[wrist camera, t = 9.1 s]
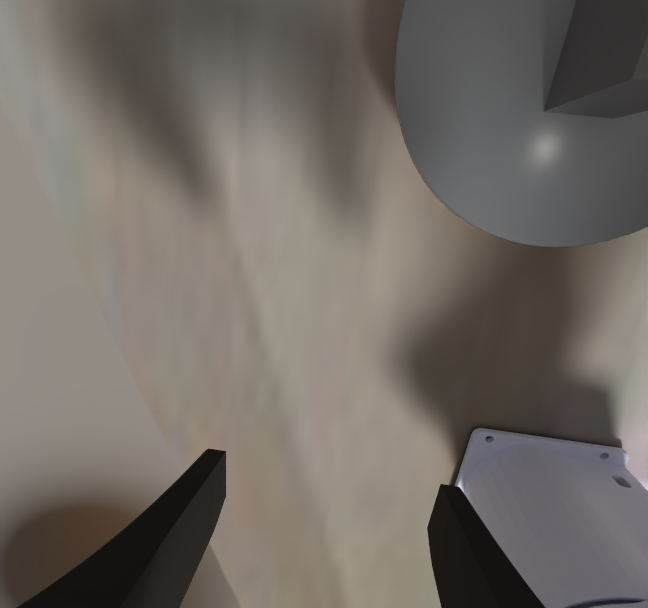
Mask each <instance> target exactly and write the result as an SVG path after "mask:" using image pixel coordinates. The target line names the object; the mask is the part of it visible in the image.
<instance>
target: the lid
mask: <svg viewBox="0 0 648 608" xmlns="http://www.w3.org/2000/svg"><path fill="white" fill-rule="evenodd" d="M394 73H395V98H396V105H397V113H398V119H399V123H400V127H401V131H402V134H403V138H404V142H405V144H406V147H407V149H408V151H409V154H410V156H411V159H412V161H413V163H414V165H415V167H416V169H417V170H418V172H419V174H420V175H421V177H422V179H423V181H424V182H425V183H426V185H427V186H428V187H429V188H430V190H431V191H432V192H433V193H434V195H435V196H436V197H437V198H438V199H439V200H440V201H441V202H442V203H443V204H444V205H445V206H446V207H447V208H448V209H449V210H450V211H451V212H453V213H454V214H456V215H457V216H458V217H460V218H461V219H463V220H464V221H466V222H467V223H469V224H471V225H473V226H475V227H477V228H479V229H481V230H483V231H485V232H487V233H489V234H492V235H495V236H498V237H501V238H504V239H507V240H510V241H513V242H517V243H522V244H528V245H533V246H545V247H568V246H582V245H588V244H593V243H598V242H603V241H608V240H611V239H614V238H618V237H621V236H624V235H628V234H631V233H633V232H636V231H638V230H641V229H643V228H645V227H648V0H405V3H404V7H403V11H402V16H401V21H400V26H399V31H398V36H397V44H396V55H395V65H394Z"/></svg>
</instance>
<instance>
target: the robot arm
mask: <svg viewBox="0 0 648 608" xmlns="http://www.w3.org/2000/svg"><path fill="white" fill-rule="evenodd" d="M488 436H491V437H490V438H486V437H488ZM602 453H603V454H602ZM629 457H630V456H629V454H628V453H627V452H626V451H625V450H624V449H622V448H617V447H610V446H603V445H596V444H589V443H582V442H575V441H568V440H561V439H554V438H547V437H540V436H533V435H526V434H519V433H512V432H505V431H498V430H492V429H485V428H477V429H475V430H474V431H473V432H472V434H471V437H470V440H469V443H468V446H467V449H466V452H465V455H464V459H463V462H462V465H461V468H460V471H459V474H458V477H457V480H456V483H455V486H450V485H443V484H441V485H440V488H439V491H438V495H437V498H436V501H435V505H434V508H433V511H432V514H431V518H430V521H429V524H428V527H427V529H428V537H429V546H430V554H431V561H432V567H433V572H434V576H435V581H436V585H437V590H438V594H439V598H440V603H441V607H442V608H648V491H647V490H646V489H645V488H644V487H643V486H642V485H641V483H640V482H639V481H638V480H637V479H636V478H635V477H634V476H633V475H632V474H631V473H630V472H629V471H628V470H627V469H626V468H625V465H626V464H627V462H628V460H629ZM225 497H226V451H220V450H214V449H207V450H206V451H205V452H204V453H203V454H202V455H201V456H200V457H199V458H198V459H197V460H196V461H195V462H194V463H193V464H192V465H191V466H190V467H189V469H188V470H187V471H186V472H185V473H184V474H183V475H182V476H181V477H180V478H179V479H178V480H177V481H176V482H175V483H174V484H173V485H172V486H171V487H170V488H168V489H167V490H166V491H165V492H164V493H163V494H162V495H161V496H160V497H159V498H158V499H157V500H156V501H155V502H154V503H153V504H152V505H151V506H150V507H148V508H147V509H146V510H145V511H144V512H143V513H142V514H140V515H139V516H138V517H137V518H136V519H135V520H134V521H133V522H132V523H130V524H129V525H128V526H127V527H126V528H125V529H123V530H122V531H121V532H120V533H118V534H117V535H116V536H115V537H114V538H112V539H111V540H110V541H109V542H107V543H106V544H105V545H104V546H102V547H101V548H100V549H99V550H97V551H96V552H95V553H94V554H92V555H91V556H90V557H88V558H87V559H86V560H84V561H83V562H82V563H80V564H79V565H78V566H76V567H75V568H73V569H72V570H71V571H69V572H68V573H67V574H65V575H64V576H62V577H61V578H60V579H59V580H57V581H56V582H54V583H53V584H51V585H50V586H48V587H47V588H45V589H44V590H43V591H41V592H40V593H38V594H37V595H35V596H34V597H32V598H31V599H29V600H28V601H26V602H24V603H23V604H21V605H20V606H18V607H17V608H179V607H180V605H181V603H182V601H183V598H184V596H185V594H186V592H187V589H188V587H189V585H190V583H191V581H192V578H193V576H194V574H195V572H196V570H197V567H198V565H199V563H200V561H201V559H202V556H203V554H204V552H205V550H206V547H207V545H208V543H209V541H210V539H211V536H212V534H213V532H214V529H215V527H216V524H217V521H218V518H219V515H220V512H221V509H222V506H223V503H224V500H225Z"/></svg>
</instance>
